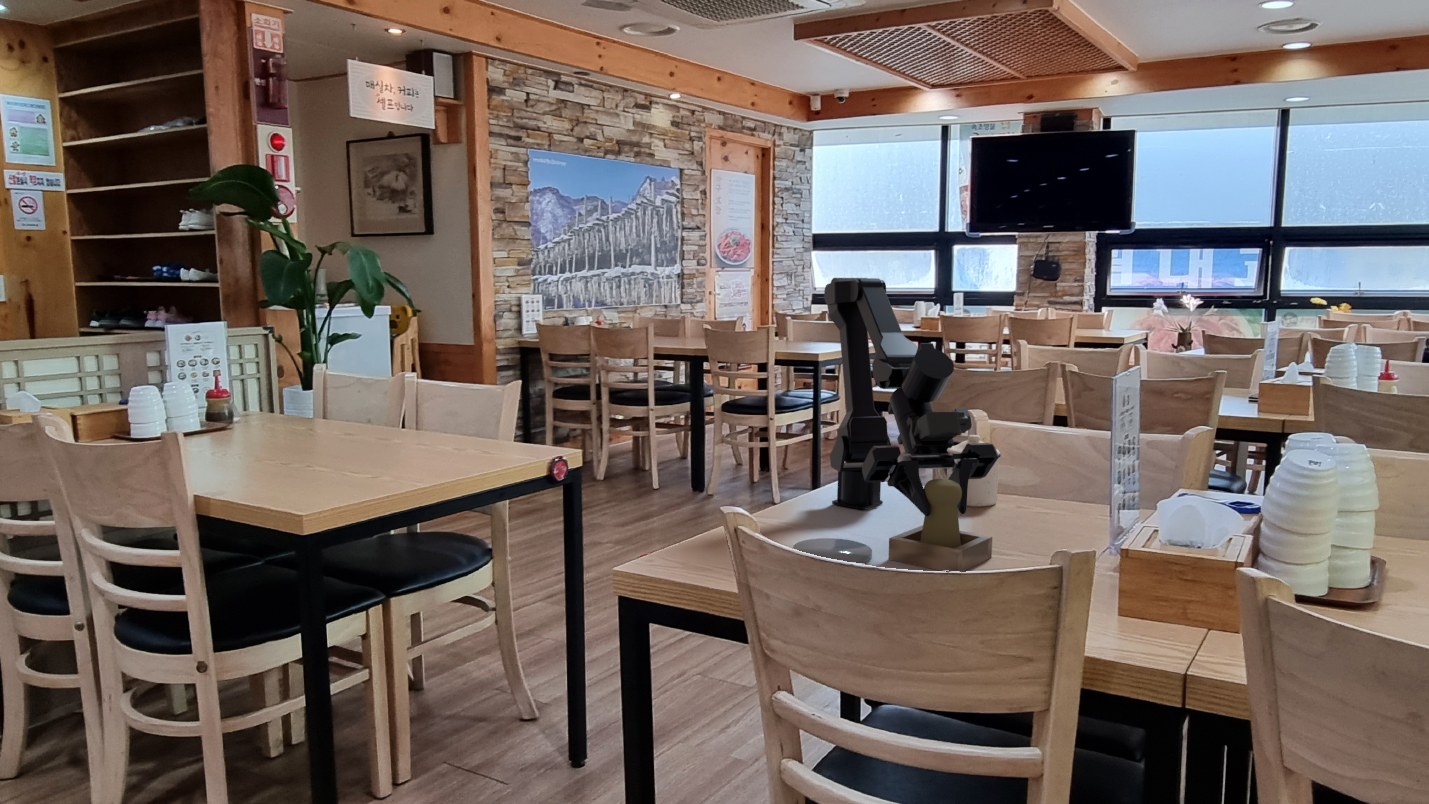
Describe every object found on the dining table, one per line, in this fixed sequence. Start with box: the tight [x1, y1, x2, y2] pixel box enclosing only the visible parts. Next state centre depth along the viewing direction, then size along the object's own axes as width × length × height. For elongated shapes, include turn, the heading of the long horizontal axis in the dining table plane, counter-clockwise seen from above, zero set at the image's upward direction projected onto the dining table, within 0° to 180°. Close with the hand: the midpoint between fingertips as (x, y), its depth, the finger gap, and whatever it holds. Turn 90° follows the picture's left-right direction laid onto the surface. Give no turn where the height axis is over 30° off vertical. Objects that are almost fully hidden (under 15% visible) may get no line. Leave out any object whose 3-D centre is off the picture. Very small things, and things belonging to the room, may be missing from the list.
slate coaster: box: [792, 537, 873, 564], centre depth 141 cm, size 11×11×1 cm
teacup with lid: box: [937, 434, 1002, 508], centre depth 176 cm, size 12×9×12 cm
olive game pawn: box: [920, 478, 962, 549], centre depth 140 cm, size 6×6×11 cm
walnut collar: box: [888, 524, 993, 572], centre depth 140 cm, size 10×10×3 cm
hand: (946, 513), depth 138 cm, fingers closed on olive game pawn, 5 cm apart
